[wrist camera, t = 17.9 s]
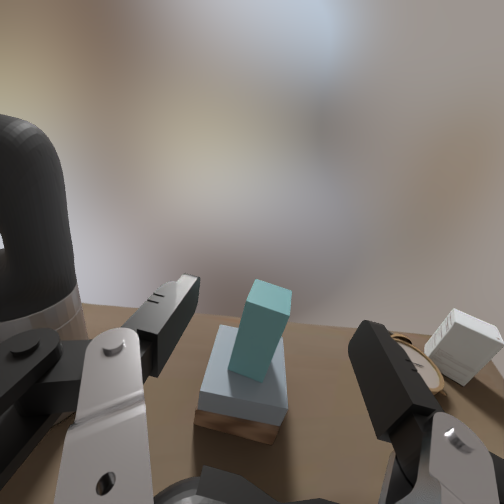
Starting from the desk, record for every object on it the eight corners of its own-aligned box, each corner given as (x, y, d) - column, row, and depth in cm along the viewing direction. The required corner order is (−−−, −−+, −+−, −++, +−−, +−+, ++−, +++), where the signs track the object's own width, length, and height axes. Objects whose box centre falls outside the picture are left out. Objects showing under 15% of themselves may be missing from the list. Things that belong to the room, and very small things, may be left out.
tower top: (197, 409, 26) (200, 390, 25) (217, 341, 36) (220, 324, 35) (279, 426, 26) (288, 408, 25) (277, 353, 36) (282, 337, 35)
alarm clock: (412, 394, 35) (364, 320, 47) (395, 405, 38) (354, 332, 50) (460, 392, 38) (403, 322, 49) (441, 402, 40) (391, 333, 52)
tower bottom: (193, 425, 28) (195, 409, 26) (216, 356, 38) (218, 341, 36) (271, 446, 27) (278, 431, 26) (273, 371, 37) (278, 356, 36)
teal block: (227, 369, 27) (246, 300, 22) (237, 341, 32) (255, 278, 27) (262, 383, 27) (289, 315, 22) (268, 352, 31) (291, 290, 26)
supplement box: (461, 366, 47) (498, 326, 42) (464, 387, 42) (507, 345, 37) (423, 345, 51) (453, 306, 46) (421, 362, 46) (455, 321, 41)
